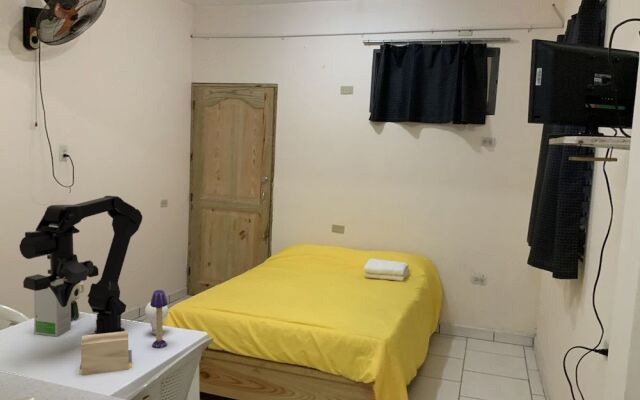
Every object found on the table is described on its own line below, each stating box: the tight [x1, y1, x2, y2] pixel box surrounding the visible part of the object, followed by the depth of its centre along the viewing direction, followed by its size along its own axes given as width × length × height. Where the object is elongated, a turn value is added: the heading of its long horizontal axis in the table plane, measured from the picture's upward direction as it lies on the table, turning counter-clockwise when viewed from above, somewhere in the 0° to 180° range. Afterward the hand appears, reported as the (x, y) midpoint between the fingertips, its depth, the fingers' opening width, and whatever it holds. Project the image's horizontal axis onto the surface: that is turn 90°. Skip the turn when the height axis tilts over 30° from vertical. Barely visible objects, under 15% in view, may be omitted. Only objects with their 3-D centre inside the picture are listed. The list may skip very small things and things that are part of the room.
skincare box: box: [33, 287, 72, 338], centre depth 154 cm, size 8×7×16 cm
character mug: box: [71, 282, 85, 321], centre depth 165 cm, size 11×7×13 cm, turn 142°
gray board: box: [78, 349, 133, 375], centre depth 134 cm, size 12×13×1 cm
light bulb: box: [144, 301, 169, 336], centre depth 153 cm, size 7×7×11 cm
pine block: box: [80, 330, 130, 376], centre depth 131 cm, size 6×11×8 cm, turn 111°
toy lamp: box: [150, 289, 168, 350], centre depth 144 cm, size 5×5×17 cm
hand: (63, 306), depth 139 cm, fingers closed
